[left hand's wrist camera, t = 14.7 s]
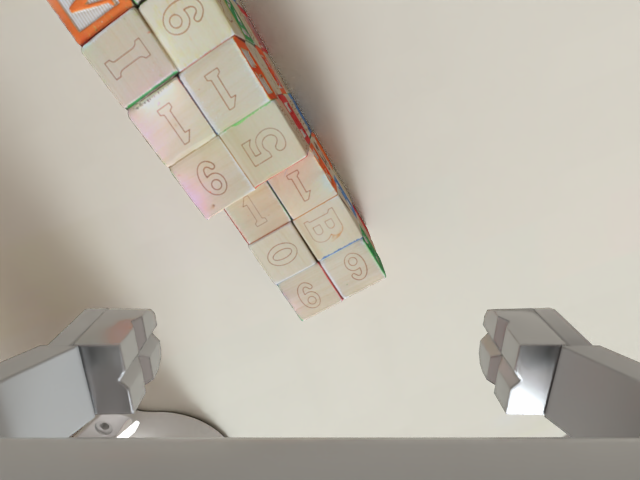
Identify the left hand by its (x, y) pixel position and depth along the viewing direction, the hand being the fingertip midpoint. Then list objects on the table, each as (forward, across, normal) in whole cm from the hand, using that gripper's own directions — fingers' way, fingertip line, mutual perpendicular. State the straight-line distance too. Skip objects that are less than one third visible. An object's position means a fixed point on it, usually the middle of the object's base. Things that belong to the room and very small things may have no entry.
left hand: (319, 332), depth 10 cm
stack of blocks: (+23, +4, -2) cm, 23 cm away
